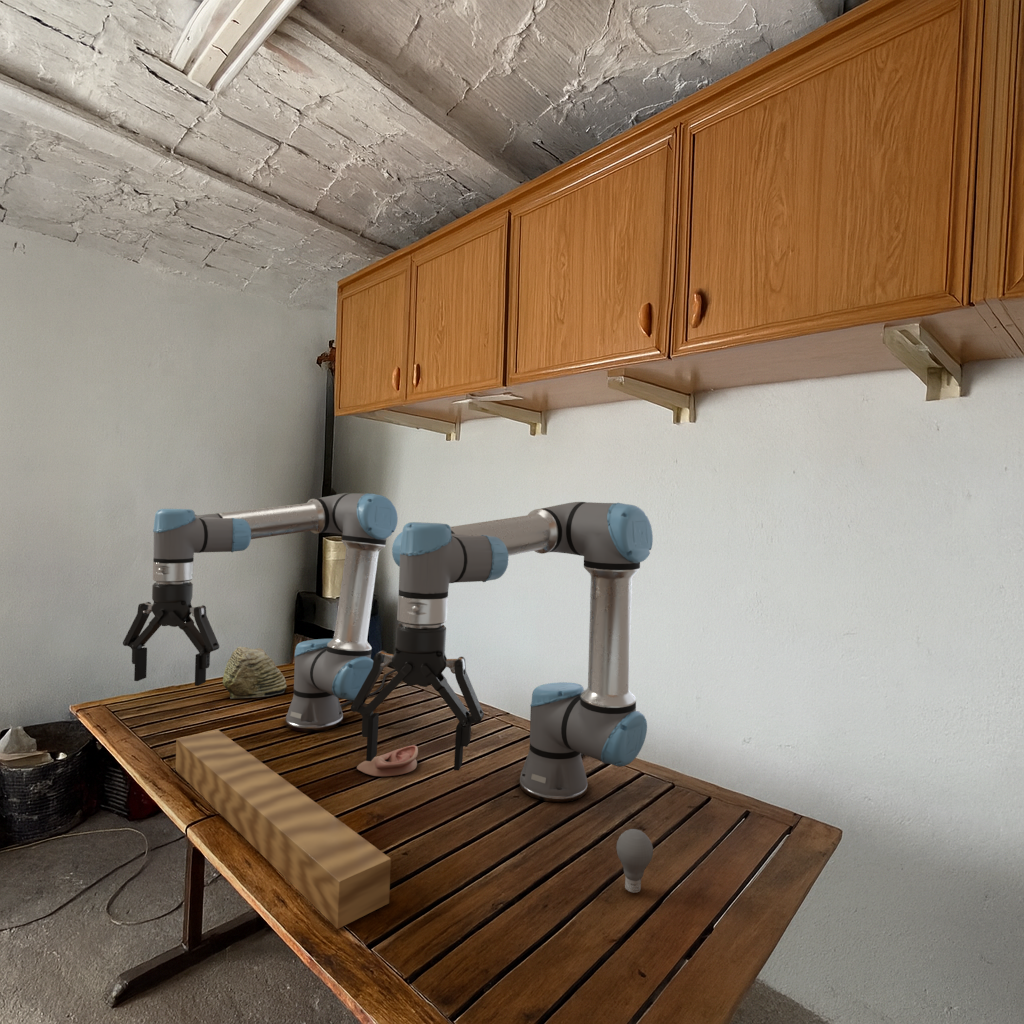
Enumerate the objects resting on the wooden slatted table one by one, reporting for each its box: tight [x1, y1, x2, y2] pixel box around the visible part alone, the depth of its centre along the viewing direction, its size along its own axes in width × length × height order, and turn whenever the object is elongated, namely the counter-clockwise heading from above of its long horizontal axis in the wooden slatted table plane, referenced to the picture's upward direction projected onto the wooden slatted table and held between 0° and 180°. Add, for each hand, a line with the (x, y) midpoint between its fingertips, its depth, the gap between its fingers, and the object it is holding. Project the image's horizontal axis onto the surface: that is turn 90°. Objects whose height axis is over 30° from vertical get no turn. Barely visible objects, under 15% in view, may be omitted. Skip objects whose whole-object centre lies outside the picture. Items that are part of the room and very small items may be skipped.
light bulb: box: [615, 828, 654, 894], centre depth 106 cm, size 6×6×10 cm
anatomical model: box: [356, 744, 419, 777], centre depth 149 cm, size 13×4×12 cm
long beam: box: [175, 729, 392, 930], centre depth 122 cm, size 71×9×7 cm, turn 45°
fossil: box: [222, 646, 288, 699], centre depth 198 cm, size 9×18×15 cm, turn 132°
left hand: (170, 681), depth 134 cm, fingers open, 13 cm apart
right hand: (414, 762), depth 97 cm, fingers open, 13 cm apart
